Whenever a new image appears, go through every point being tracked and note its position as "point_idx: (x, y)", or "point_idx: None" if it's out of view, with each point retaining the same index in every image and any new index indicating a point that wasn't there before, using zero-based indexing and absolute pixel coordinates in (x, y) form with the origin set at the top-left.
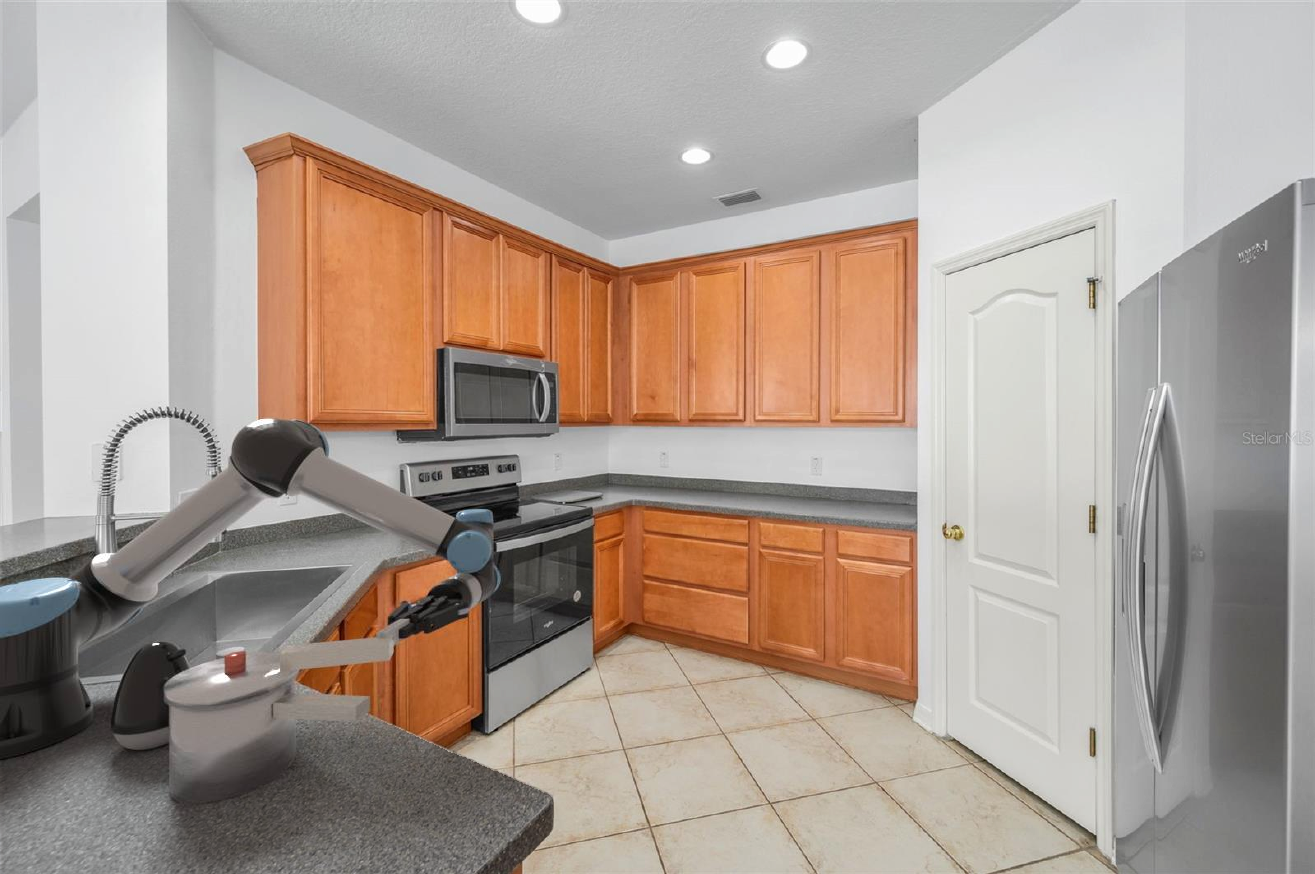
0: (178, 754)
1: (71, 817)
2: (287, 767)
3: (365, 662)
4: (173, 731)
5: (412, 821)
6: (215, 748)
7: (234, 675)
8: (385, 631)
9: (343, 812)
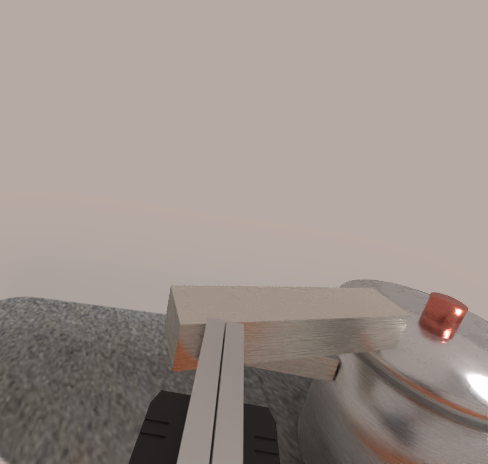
0: None
1: None
2: (302, 454)
3: None
4: None
5: (79, 340)
6: None
7: (415, 317)
8: (216, 326)
9: (163, 361)
